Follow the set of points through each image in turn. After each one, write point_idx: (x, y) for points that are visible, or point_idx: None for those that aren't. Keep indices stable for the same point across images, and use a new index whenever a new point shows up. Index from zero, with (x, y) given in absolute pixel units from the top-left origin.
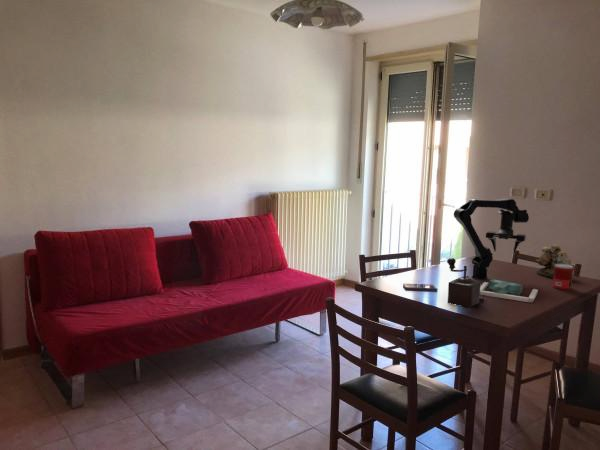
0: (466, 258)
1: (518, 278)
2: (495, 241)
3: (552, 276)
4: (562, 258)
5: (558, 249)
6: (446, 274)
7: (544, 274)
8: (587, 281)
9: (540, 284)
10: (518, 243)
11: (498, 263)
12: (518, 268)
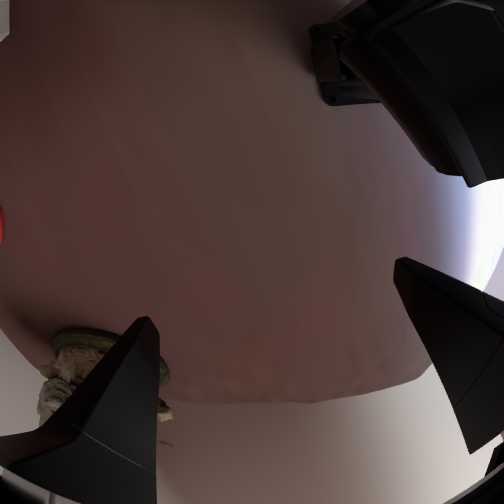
0: None
1: (159, 221)
2: (471, 391)
3: (80, 335)
4: (43, 409)
5: None
6: None
7: (112, 343)
8: (29, 352)
9: (35, 193)
10: (16, 434)
11: (344, 381)
12: (258, 377)
